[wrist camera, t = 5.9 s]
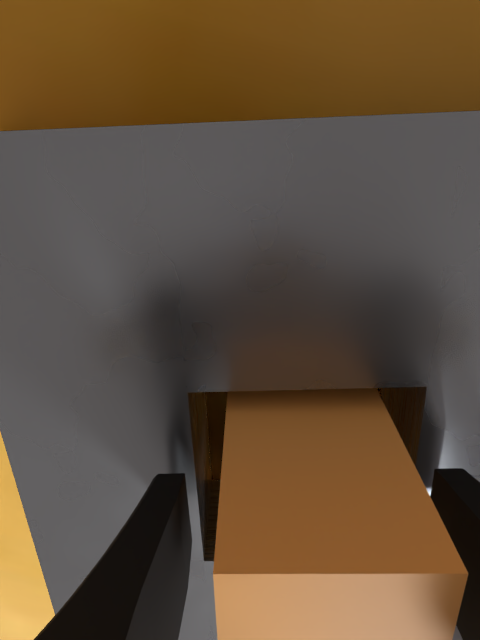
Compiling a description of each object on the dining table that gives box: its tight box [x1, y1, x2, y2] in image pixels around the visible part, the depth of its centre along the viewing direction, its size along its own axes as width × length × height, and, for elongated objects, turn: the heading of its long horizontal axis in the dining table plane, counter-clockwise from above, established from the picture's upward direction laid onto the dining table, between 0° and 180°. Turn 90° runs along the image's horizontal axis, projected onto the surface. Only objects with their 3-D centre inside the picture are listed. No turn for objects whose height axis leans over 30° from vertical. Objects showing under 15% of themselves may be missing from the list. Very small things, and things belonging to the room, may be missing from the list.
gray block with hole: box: [0, 111, 480, 640], centre depth 12 cm, size 16×14×3 cm
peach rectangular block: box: [213, 388, 468, 640], centre depth 10 cm, size 4×4×7 cm
